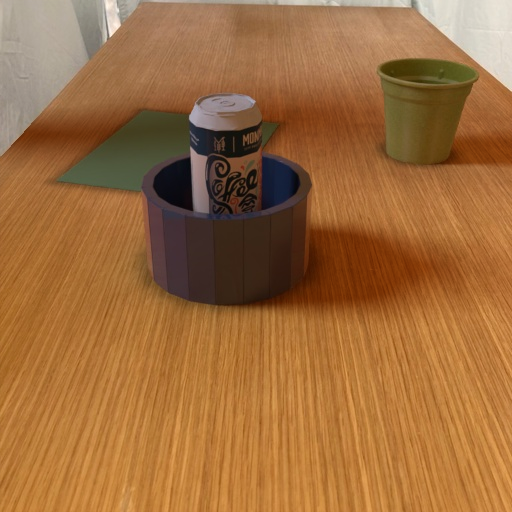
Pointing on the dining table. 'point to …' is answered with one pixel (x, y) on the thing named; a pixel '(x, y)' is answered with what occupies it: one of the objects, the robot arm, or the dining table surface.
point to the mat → (138, 151)
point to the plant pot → (423, 106)
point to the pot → (227, 235)
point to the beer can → (226, 154)
